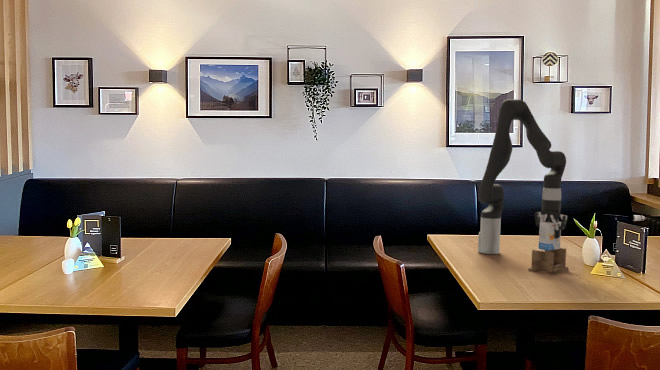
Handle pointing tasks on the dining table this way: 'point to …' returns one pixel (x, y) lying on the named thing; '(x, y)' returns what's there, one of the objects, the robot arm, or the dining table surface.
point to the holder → (549, 261)
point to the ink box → (548, 236)
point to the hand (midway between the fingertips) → (549, 237)
